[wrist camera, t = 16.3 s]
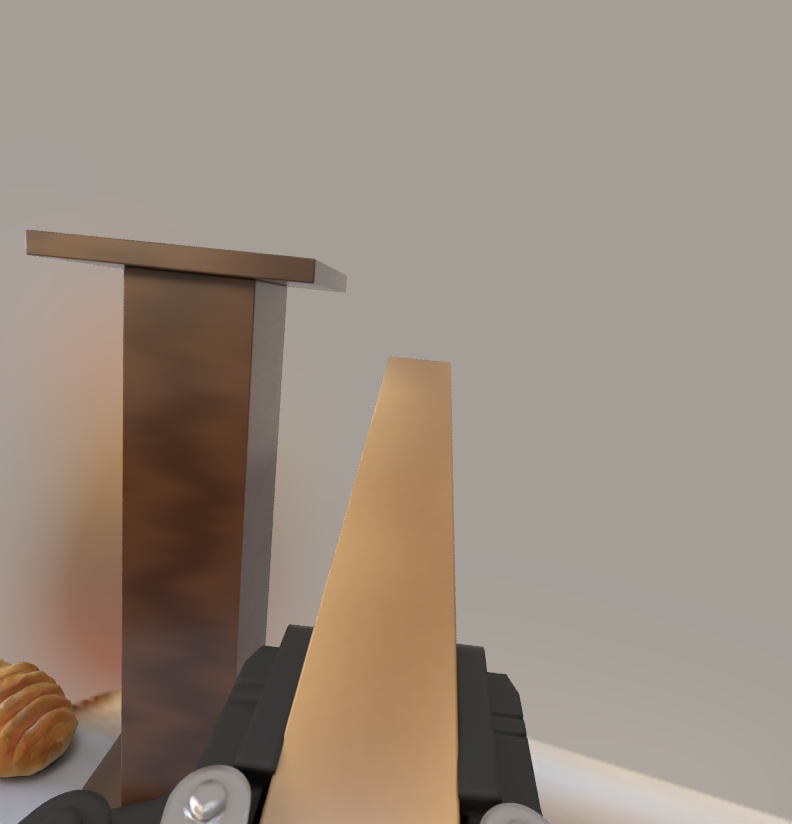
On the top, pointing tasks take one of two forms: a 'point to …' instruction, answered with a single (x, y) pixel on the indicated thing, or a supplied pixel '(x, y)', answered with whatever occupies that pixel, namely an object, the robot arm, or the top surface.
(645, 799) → the top surface
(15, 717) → the pastry
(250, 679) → the robot arm
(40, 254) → the stand
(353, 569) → the beech stick
